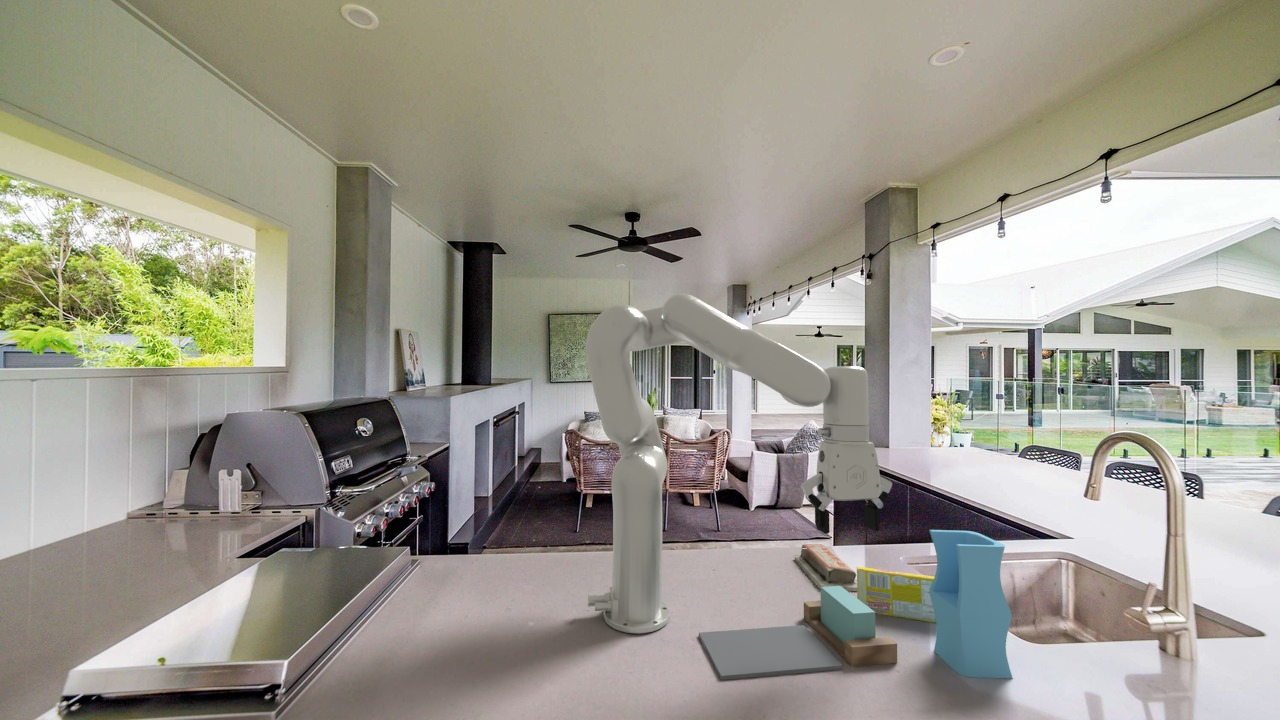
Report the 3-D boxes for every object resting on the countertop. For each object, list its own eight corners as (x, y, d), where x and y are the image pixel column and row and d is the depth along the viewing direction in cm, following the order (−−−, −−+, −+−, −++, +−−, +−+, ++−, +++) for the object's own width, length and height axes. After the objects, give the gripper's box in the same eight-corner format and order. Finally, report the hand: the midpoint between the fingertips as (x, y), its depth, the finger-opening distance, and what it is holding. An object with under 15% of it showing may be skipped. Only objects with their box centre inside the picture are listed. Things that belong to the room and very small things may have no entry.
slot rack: (852, 666, 73) (852, 647, 73) (803, 617, 88) (803, 601, 88) (897, 662, 74) (897, 643, 74) (841, 615, 89) (841, 599, 89)
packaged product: (793, 541, 118) (831, 542, 118) (793, 560, 117) (831, 561, 117) (820, 570, 100) (866, 571, 100) (820, 593, 99) (866, 594, 99)
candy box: (949, 621, 88) (948, 577, 88) (952, 626, 86) (952, 581, 86) (856, 606, 93) (856, 565, 93) (858, 611, 91) (857, 569, 91)
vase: (930, 647, 79) (928, 529, 80) (976, 648, 78) (974, 530, 79) (961, 676, 71) (958, 545, 72) (1012, 678, 70) (1010, 547, 71)
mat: (721, 680, 69) (721, 675, 69) (698, 636, 81) (698, 632, 81) (842, 669, 72) (842, 665, 72) (803, 628, 84) (803, 625, 84)
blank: (853, 656, 76) (853, 613, 76) (820, 624, 85) (820, 586, 86) (875, 654, 76) (875, 612, 77) (840, 623, 86) (840, 585, 86)
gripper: (812, 437, 78) (814, 539, 77) (903, 436, 80) (906, 534, 79) (791, 432, 85) (792, 525, 84) (875, 431, 88) (877, 521, 87)
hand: (847, 530), depth 82 cm, fingers open, 9 cm apart
